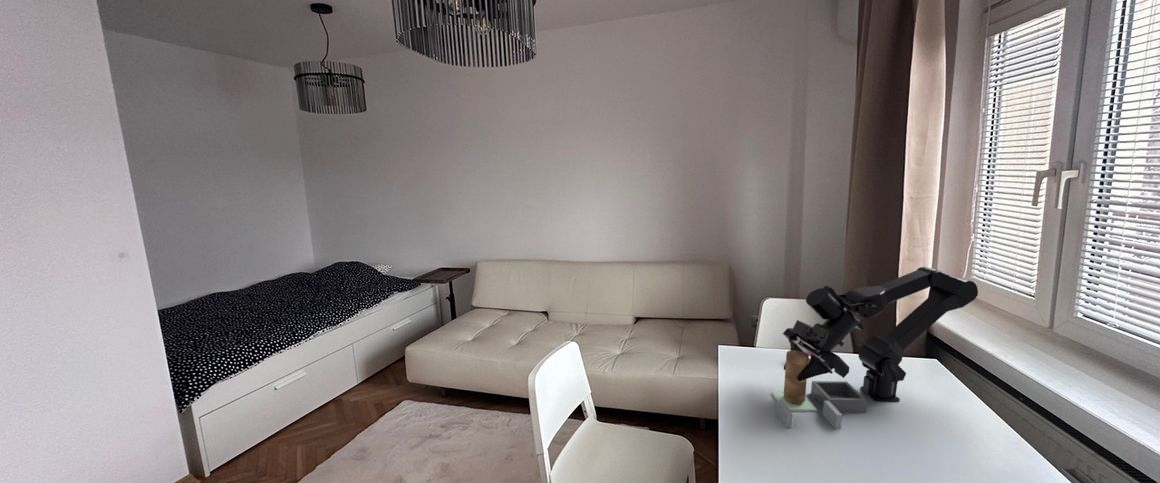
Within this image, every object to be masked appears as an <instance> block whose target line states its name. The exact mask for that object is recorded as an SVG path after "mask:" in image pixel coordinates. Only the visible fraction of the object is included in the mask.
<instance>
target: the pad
mask: <svg viewBox="0 0 1160 483" xmlns="http://www.w3.org/2000/svg"><path fill="white" fill-rule="evenodd" d="M771 395H772V396H773V398H774V399H775V401H776V402H777V400H783V402H784V403H785V404H786V406H787V407H788V409H789V410H790V411H791V412H817V411H818V409H817V408H816V406H815V405H814V404H813V403H812V402H811V401H810V399H809V398H808V397H807V396H806V395H805V401H804V402H803V403H793V402H790V401H788V400H786V399H785V398H784V396H783V395H784V391H771Z"/></svg>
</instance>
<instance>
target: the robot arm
mask: <svg viewBox="0 0 1160 483" xmlns="http://www.w3.org/2000/svg"><path fill="white" fill-rule="evenodd" d="M928 288H929V290H928V295H927V298H926V299H925V300H924V301H923V302H922V303H920V304H919V305H918V306H917V307H916V308H915V309H914V310H913V311H911V312H910V313H909V314H908V315H907V316H906V317H905V318H904V319H903V320H902V321H900V322H899V323H898V324H897V325H896V326H894V328H892V329H891V330H890V331H888V333H887V334H886V335H882V336H878V335H876V333H875V334H871V335H870V336H869V337H868V339H867V338H866V340H865V341H863V342H861V346H860V347H859V349H858V355H857V356H858V359H859V361H860V362H861V365H862V367H864V368H866V369H867V370H866V373H865V375H864V376H863V383H862V384H863V385H862V386H860V389H861V390H862V391H863V392H864V393H865V394H866V395H867V396H868V397H869V398H870V399H872V400H873V401H874V402H899V401H901V400H900V399H901V398H899V397H898V396H897V391H898V390H897V389H898V383H899V382H901V381H904V380H905V377H906V375H907V372H906V371H904V369H903V368H902V367H901V366H900V363H901V362H902V361H903V357H904V352H905V350H906V348H907V347H909V346H910V345H911V344H912V343H914V342H915V341H916V340H917V338H919V337H920V336H921V335H922V334H924V333H925V332H926V331H927V330H928V329H929V328H930V327H931V326H933V325H934V324H935V323H936V322H938V320H940V318H942V317H943V316H944V315H946V314H947V312H948V313H949V312H951V311H954V310H958V309H961V308H964V307H965V306H967V305H969V304H970V303H972V302H973V301H975V299H977V297H978V295H979V294H978V293H979V290H978V286H977V284H976V282H974V281H972V280H969V279H965V278H962V277H959V276H955V275H952V274H946V273H943V272H942V271H940V270H939V269H935V268H931V267H928V266H921V267H918V268H917V269H916V270H914V271H912V272H909V273H905V274H904V275H902V276H899V277H897V278H894V279H891V280H889V281H887V282H884V283H882V284H879V285H875V286H861V287H858V288H852V289H850V290H848V291H847V292H846V293H845V292H844V293H840V294H837V292H836V291H835V290H834V289H833V287H831V286H828V285H824V287H823V288H817V289H815V290H813V291H810V293H809V294H808V295H807V296H806V297H805V298H806V299H805V302H806V304H807V305H808V306H809V307H810V308H811V310H812V311H813V312H815V313H816V314H817V315H818V317H820V318H821V319H822V320H824V322H823V323H821V324H820V323H818V322H817V323H815V324H814V325H811V324H808V323H805V322H803V321H801V320H798V319H797V320H796V321H795V324H794V326H793V327H790V328H786V329H785V330H784V331H783V332H782V335H783V336H785V337H786V339H788V343H789V344H790V346H789V347H790V350H789V351H791V350H796V351H801V352H805V351H806V349H807V350H808V351H810V352H811V353H813V354H814V355H816V356H818V357H816V356H814V355H813V354H811V356H810V357H809V359H810V362H809V363H808V364H807V365H806V367H805V368H804V369H803V370H802V371H801V372H800V373H799V375H798V376H797V378H796V379H797V380H798V381H802V380H805V379H807V380H808V379H811V378H813V377H817V376H820V375H824V374H831V375H832V374H833V373H834V372H835V374H837V375H838V376H840V377H841V378H843V379H844V378H845V377H846V376H847V375H849V373H850V366H849V365H848V364H847V363H846V362H845V360H843V359H842V358H841V356H839V355H837V354H836V353H834V352H833V350H835V349H836V347H837V346H839V347H843V346H844V345H845V343H844V342H843V340H844V339H845V338H846V337H847V336H848V335H849V334H850V333H851V332H852V331H853V330H854V329H858V330H860V331H864V328H865V327H864V319H863V318H865V319H870V318H871V319H872V318H874V317H875V316H877V315H879V314H880V313H882V312H884V311H885V310H886V309H887V307H888V305H890V304H891V303H893V302H896V301H899V300H900V299H903V298H905V297H908V296H911V295H913V294H916V293H918V292H921V291H923V290H925V289H928ZM845 309H846V310H845ZM848 310H849V311H848ZM853 313H854V314H857V315H859V316H861V317H863V318H860V317H858V316H855V315H854V314H853ZM785 368H786V362H785V364H784V365H783V370H784V371H785ZM833 370H834V372H833Z"/></svg>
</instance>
